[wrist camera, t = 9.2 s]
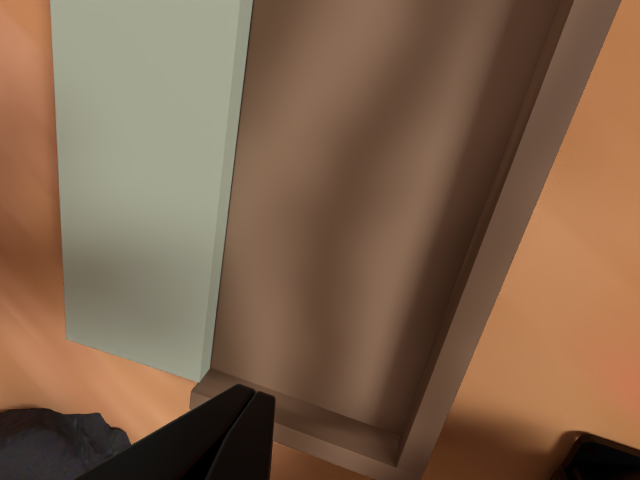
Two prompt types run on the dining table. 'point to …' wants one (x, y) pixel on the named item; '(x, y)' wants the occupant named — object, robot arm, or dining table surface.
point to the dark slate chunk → (54, 444)
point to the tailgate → (146, 170)
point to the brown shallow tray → (385, 207)
